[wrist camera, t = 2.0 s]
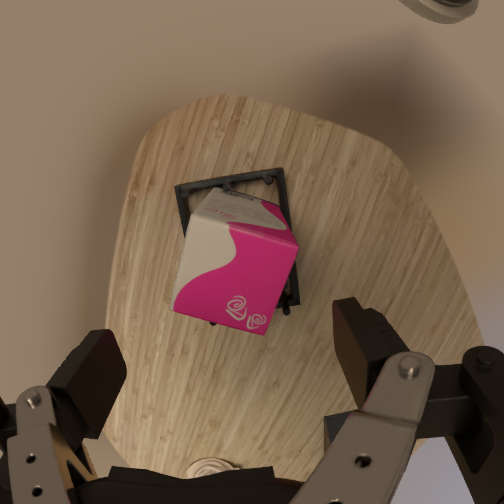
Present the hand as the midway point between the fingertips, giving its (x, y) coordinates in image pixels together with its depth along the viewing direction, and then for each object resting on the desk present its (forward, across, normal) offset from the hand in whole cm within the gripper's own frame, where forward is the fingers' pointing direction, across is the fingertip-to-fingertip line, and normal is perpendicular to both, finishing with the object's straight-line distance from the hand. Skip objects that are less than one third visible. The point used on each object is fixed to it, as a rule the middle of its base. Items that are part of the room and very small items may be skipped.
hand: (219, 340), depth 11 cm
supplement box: (+17, 0, 0) cm, 17 cm away
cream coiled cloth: (+18, +9, +34) cm, 39 cm away
